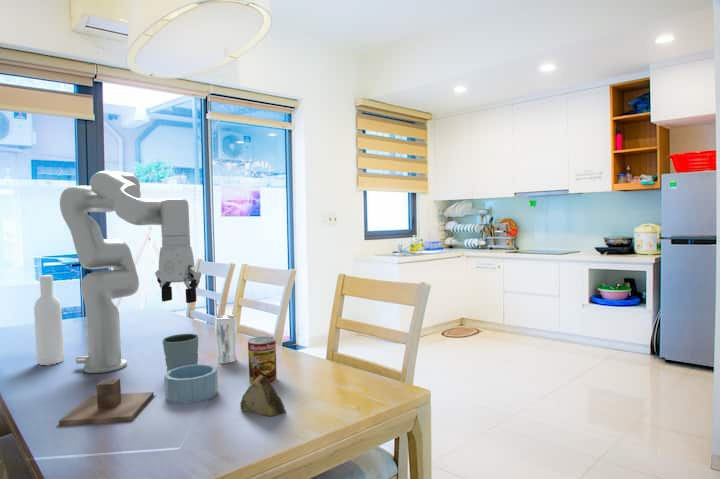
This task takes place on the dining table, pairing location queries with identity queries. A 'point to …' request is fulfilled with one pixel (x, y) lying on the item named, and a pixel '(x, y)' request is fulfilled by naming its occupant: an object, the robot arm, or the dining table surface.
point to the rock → (262, 398)
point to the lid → (107, 405)
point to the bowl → (191, 383)
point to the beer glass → (226, 338)
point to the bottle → (48, 325)
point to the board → (113, 422)
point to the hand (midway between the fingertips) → (179, 301)
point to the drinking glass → (180, 350)
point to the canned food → (262, 358)
